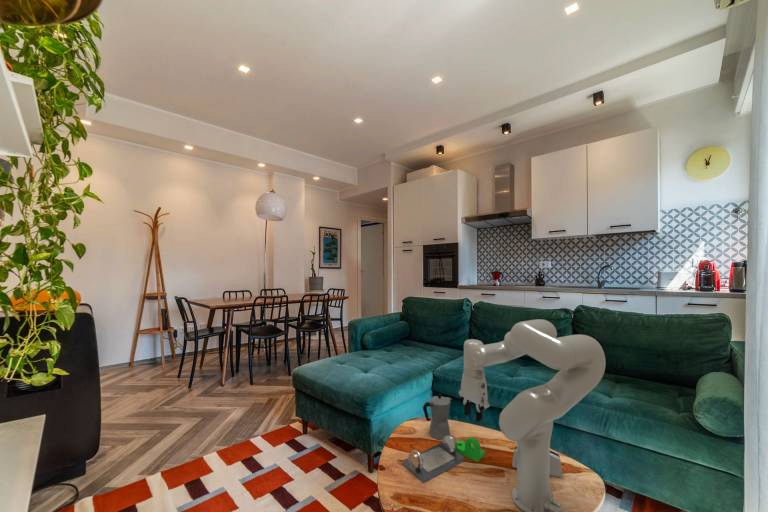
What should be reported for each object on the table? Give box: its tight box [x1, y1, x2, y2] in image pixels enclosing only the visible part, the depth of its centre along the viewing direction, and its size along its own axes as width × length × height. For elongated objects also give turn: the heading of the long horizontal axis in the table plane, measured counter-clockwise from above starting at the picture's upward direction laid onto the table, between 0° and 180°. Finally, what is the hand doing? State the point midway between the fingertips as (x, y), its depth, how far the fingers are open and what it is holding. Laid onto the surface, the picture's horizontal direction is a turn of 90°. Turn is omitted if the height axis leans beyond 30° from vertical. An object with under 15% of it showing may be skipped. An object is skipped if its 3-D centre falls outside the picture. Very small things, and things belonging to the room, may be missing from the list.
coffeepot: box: [422, 393, 453, 441], centre depth 144 cm, size 15×9×18 cm, turn 117°
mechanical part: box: [455, 436, 486, 463], centre depth 131 cm, size 12×6×8 cm, turn 47°
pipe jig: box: [402, 434, 465, 483], centre depth 124 cm, size 21×12×8 cm, turn 125°
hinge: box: [511, 444, 564, 479], centre depth 119 cm, size 17×5×10 cm, turn 70°
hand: (473, 417), depth 128 cm, fingers open, 5 cm apart
